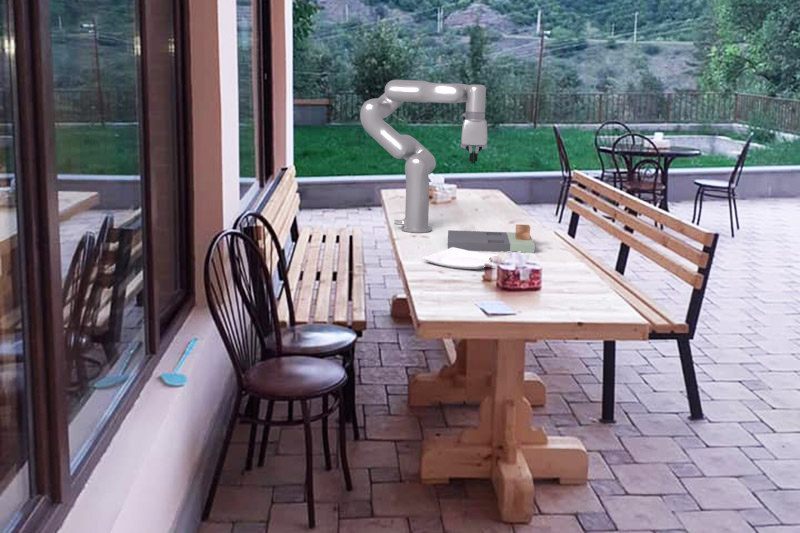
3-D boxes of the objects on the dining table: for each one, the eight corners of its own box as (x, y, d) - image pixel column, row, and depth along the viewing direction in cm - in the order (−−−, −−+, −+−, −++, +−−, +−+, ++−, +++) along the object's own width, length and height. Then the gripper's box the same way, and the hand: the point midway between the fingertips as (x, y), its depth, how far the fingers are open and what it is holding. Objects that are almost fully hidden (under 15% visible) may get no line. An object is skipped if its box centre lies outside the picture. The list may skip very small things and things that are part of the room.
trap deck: (447, 249, 337) (448, 241, 336) (447, 237, 360) (448, 230, 359) (534, 252, 335) (534, 244, 335) (528, 240, 359) (529, 233, 358)
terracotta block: (516, 239, 344) (516, 226, 343) (515, 237, 349) (516, 224, 348) (529, 240, 343) (530, 227, 342) (528, 237, 348) (529, 224, 347)
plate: (416, 264, 312) (416, 257, 312) (451, 253, 333) (451, 246, 332) (480, 274, 300) (480, 267, 299) (511, 262, 320) (512, 255, 319)
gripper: (456, 116, 354) (454, 163, 358) (494, 117, 353) (492, 164, 357) (456, 115, 361) (454, 161, 365) (493, 116, 360) (491, 162, 364)
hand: (473, 163), depth 361 cm, fingers closed
